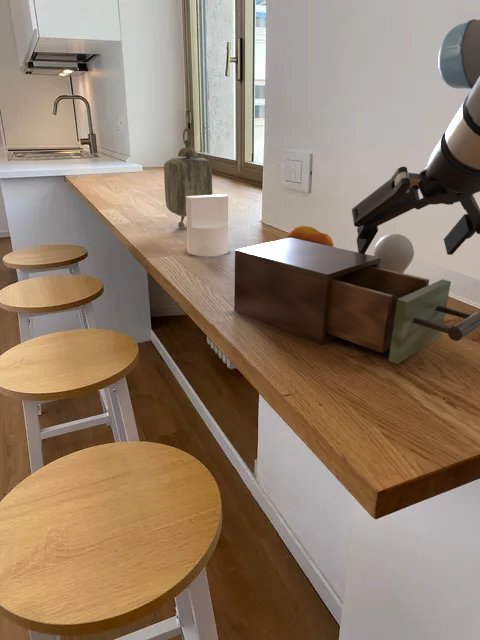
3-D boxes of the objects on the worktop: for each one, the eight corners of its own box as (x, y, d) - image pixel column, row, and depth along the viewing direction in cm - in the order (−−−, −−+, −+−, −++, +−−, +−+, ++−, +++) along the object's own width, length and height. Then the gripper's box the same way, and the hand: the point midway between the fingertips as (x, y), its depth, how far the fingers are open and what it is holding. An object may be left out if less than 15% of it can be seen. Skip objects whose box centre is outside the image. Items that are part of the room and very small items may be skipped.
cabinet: (373, 320, 73) (381, 257, 69) (321, 344, 65) (327, 274, 61) (287, 293, 84) (290, 237, 80) (234, 311, 76) (234, 249, 72)
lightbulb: (396, 309, 78) (405, 240, 73) (361, 300, 81) (368, 233, 77) (413, 300, 82) (423, 234, 78) (379, 291, 86) (387, 228, 81)
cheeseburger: (265, 274, 93) (273, 221, 91) (291, 275, 102) (299, 226, 100) (314, 283, 88) (323, 227, 86) (337, 283, 97) (346, 232, 95)
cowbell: (212, 231, 129) (211, 128, 119) (178, 234, 126) (175, 128, 116) (196, 221, 141) (194, 127, 132) (165, 223, 138) (161, 127, 129)
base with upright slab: (218, 244, 115) (218, 192, 111) (234, 253, 108) (235, 197, 103) (181, 248, 112) (180, 194, 107) (195, 258, 104) (194, 200, 100)
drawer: (485, 351, 62) (499, 292, 59) (445, 382, 54) (458, 316, 51) (342, 306, 76) (347, 257, 73) (295, 326, 68) (298, 272, 65)
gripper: (571, 122, 57) (477, 225, 77) (361, 118, 55) (319, 225, 75) (592, 174, 54) (489, 268, 74) (371, 172, 52) (325, 269, 72)
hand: (404, 247), depth 74 cm, fingers open, 13 cm apart
